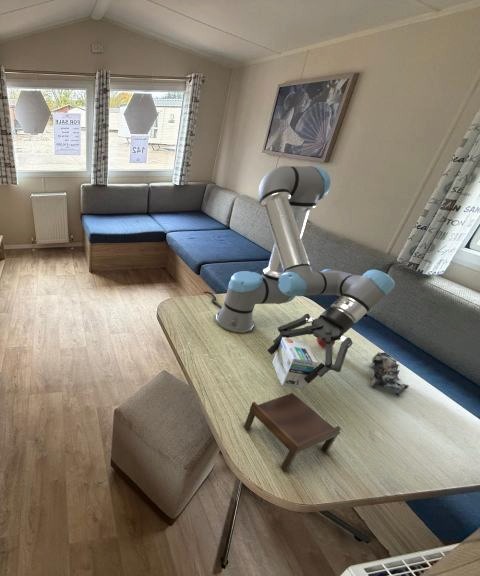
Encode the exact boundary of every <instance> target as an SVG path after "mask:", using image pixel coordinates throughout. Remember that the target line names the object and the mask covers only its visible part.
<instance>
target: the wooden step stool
mask: <svg viewBox="0 0 480 576" xmlns="http://www.w3.org/2000/svg"><path fill="white" fill-rule="evenodd" d="M255 417H256V418H257V419H258V421H260V422H261V423H262V424H263V425H264V427H265V428H266V429H267V430H268V431H269V432H270V433H272V435H273V436H275V438H277V440H278V441H279V442H280V443H281V444H282V445H283V446H284V447H285V448H286V449H287V450H288V452H287V454H286V456H285V458H284V460H283V462H282V464H281V465H280V469H281V470H282V471H283V472H284V473H286V472H287V471H289V469H290V467H291V466H292V464H293V462H294V461H295V458H296V456H297V455H298V454H300V453H301V452H304V451H306V450H309V449H310V448H313V447H315V446H317V445H320V444H322V443H323V444H322V445H321V448H320V451H321V452H323V453H324V454H327V453H328V452H329V451H330V449H331V447H332V446H333V444H334V443H335V440H336V439H337V438H338V436H340V434H341V432H340V431H341V430H342V427H341V426H339V425H337V426H333V425H332V424H331V423H329V422H328V420H327V419H324V417H322V416H321V415H320V414H319V413H317V412H316V411H315V410H314V409H313V408H311V407H310V406H309V405H308V404H307V403H305V402H304V401H303V400H302V399H301V398H299V397H298V396H297V395H296V394H295V393H293V392H291V393H287V394H284V395H281V396H279V397H276V398H274V399H271V400H268V401H265V402H261V403H260V404H258V403H257V402H256V401H252V403H251V405H250V409H249V412H248V415H247V417H246V419H245V422H244V425H243V428H244V429H245V430H246V431H248V430H251V427H252V425H253V422H254V420H255Z"/></svg>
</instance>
